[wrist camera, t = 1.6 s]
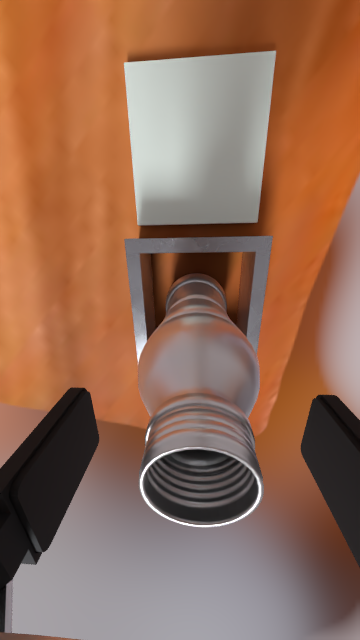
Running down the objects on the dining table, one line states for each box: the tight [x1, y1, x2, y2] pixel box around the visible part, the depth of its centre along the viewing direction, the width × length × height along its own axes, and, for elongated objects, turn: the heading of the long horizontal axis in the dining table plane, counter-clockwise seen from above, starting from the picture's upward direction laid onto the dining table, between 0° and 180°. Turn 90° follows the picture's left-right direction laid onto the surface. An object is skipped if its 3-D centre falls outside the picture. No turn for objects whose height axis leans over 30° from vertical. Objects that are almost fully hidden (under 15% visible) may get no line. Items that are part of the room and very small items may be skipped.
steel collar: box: [125, 236, 273, 362], centre depth 22 cm, size 13×12×5 cm
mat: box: [124, 51, 276, 226], centre depth 19 cm, size 12×12×1 cm
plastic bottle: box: [138, 273, 264, 527], centre depth 15 cm, size 6×7×20 cm
